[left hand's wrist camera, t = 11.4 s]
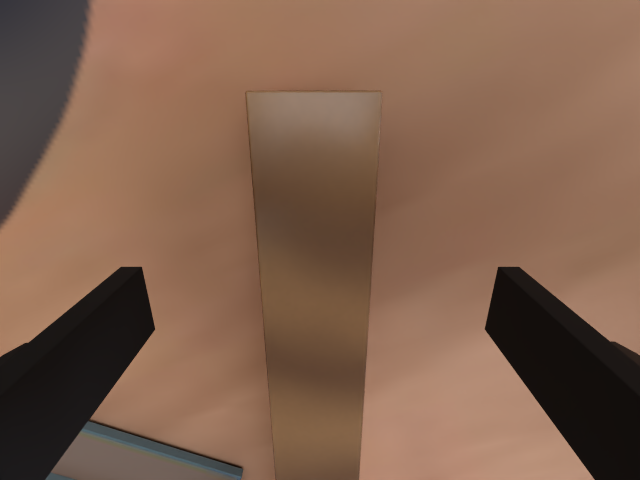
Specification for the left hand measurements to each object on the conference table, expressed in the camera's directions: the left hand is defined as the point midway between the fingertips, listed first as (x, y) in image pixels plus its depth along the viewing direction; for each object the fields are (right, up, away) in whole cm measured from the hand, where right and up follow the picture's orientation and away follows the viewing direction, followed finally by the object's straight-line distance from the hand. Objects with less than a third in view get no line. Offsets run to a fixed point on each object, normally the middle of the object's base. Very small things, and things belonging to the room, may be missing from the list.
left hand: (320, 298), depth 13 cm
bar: (0, -25, +21) cm, 33 cm away
